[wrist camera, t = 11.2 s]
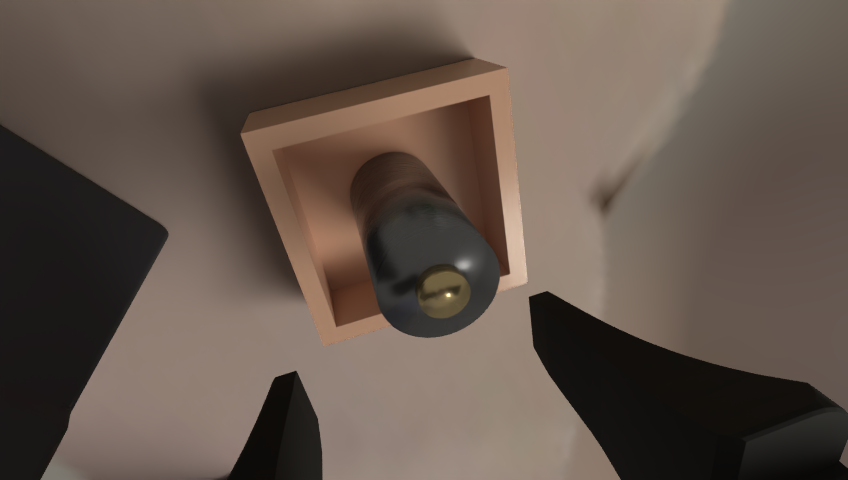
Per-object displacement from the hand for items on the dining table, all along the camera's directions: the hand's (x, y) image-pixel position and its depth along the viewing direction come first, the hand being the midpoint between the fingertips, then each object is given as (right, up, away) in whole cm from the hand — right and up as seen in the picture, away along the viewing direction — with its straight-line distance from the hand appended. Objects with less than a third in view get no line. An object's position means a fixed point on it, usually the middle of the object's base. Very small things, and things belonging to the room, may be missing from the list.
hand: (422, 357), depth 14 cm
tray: (-2, +6, +8) cm, 10 cm away
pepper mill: (-1, +6, +8) cm, 9 cm away
